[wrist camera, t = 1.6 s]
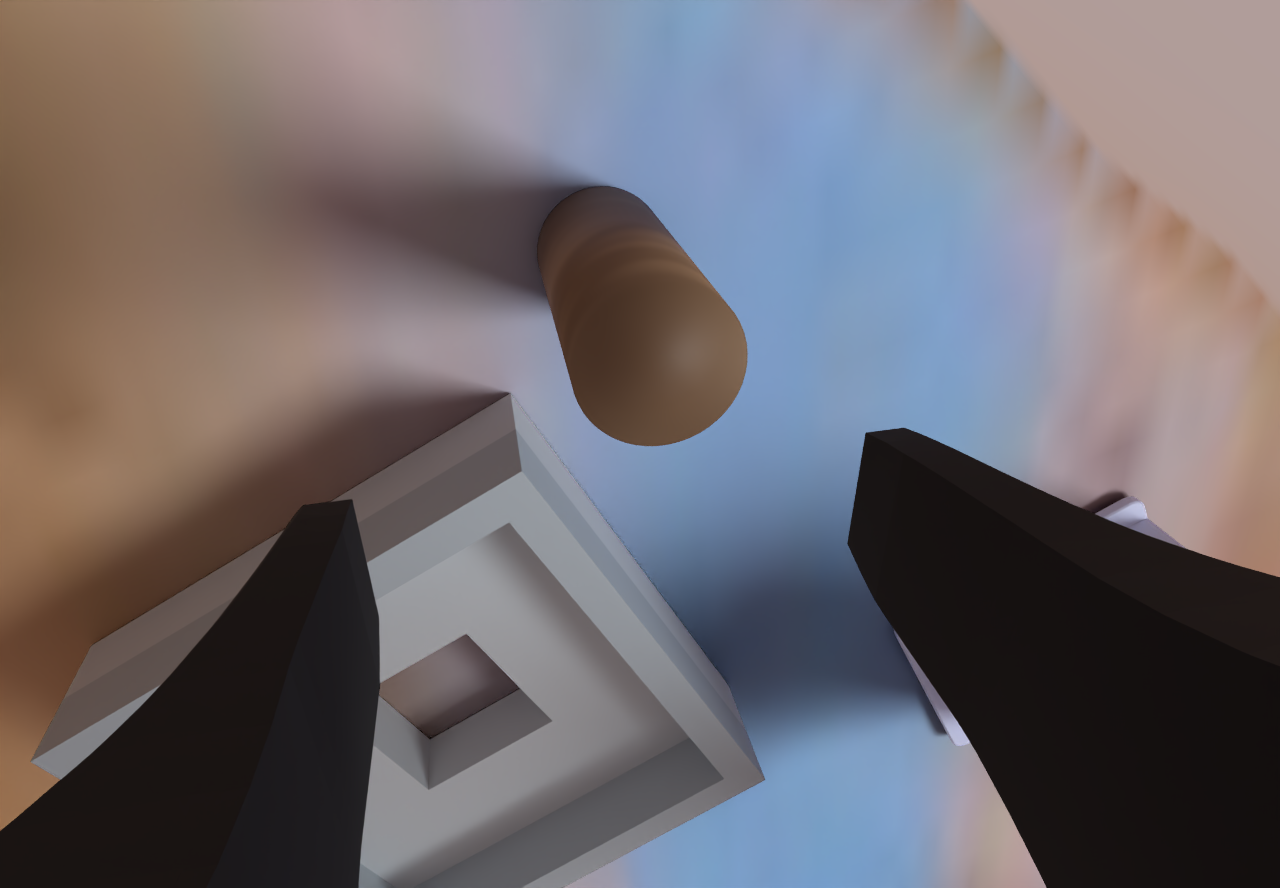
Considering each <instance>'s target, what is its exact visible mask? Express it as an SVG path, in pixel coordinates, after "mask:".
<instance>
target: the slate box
mask: <svg viewBox="0 0 1280 888" xmlns="http://www.w3.org/2000/svg"><path fill="white" fill-rule="evenodd" d="M348 499H352V500H353V505H354V509H355V513H356V518H357V522H358V527H359V531H360V535H361V540H362V544H363V548H364V553H365V557H366V562H367V566H368V570H369V575H370V579H371V583H372V588H373V592H374V597H375V601H376V605H377V610H378V614H379V638H380V683H381V682H383V681H385V680H387V679H388V678H390V677H392V676H394V675H395V674H397V673H399V672H400V671H402V670H404V669H406V668H407V667H409V666H411V665H413V664H414V663H416V662H418V661H420V660H421V659H423V658H425V657H427V656H428V655H430V654H432V653H434V652H435V651H437V650H439V649H441V648H442V647H444V646H446V645H448V644H449V643H451V642H453V641H454V640H456V639H458V638H460V637H461V636H463V635H465V634H467V635H468V636H469V637H470V638H471V639H472V640H473V641H474V642H475V643H476V644H477V645H478V646H479V647H480V648H481V649H482V650H483V651H484V652H485V653H486V654H487V655H488V656H489V657H490V658H491V659H492V660H493V661H494V662H495V663H496V664H497V665H498V666H499V667H500V668H501V669H502V670H503V671H504V672H505V673H506V674H507V675H508V676H509V677H510V678H511V679H512V680H513V681H514V682H515V683H516V684H517V686H518V687H519V688H520V689H519V690H517V691H515V692H513V693H512V694H510V695H508V696H506V697H504V698H503V699H501V700H499V701H497V702H496V703H494V704H492V705H490V706H489V707H487V708H485V709H483V710H481V711H480V712H478V713H476V714H474V715H473V716H471V717H469V718H467V719H465V720H464V721H462V722H460V723H458V724H457V725H455V726H453V727H451V728H449V729H448V730H446V731H444V732H442V733H441V734H439V735H437V736H435V737H433V738H432V739H429V738H428V737H426V736H425V735H424V734H423V733H422V732H421V731H419V730H418V729H417V728H416V727H415V726H414V725H412V724H411V723H410V722H409V721H408V720H407V719H406V718H404V717H403V716H402V715H401V714H400V713H399V712H397V711H396V710H395V709H394V708H393V707H392V706H390V705H389V704H388V703H387V702H386V701H385V700H384V699H382V698H381V697H380V696H379V699H378V708H377V717H376V726H375V734H374V743H373V752H372V760H371V769H370V777H369V786H368V794H367V803H366V811H365V820H364V828H363V837H362V845H361V859H360V872H359V888H563V887H565V886H567V885H569V884H571V883H573V882H575V881H577V880H578V879H580V878H582V877H584V876H586V875H588V874H590V873H592V872H593V871H595V870H597V869H599V868H601V867H603V866H605V865H607V864H608V863H610V862H612V861H614V860H616V859H618V858H620V857H622V856H623V855H625V854H627V853H629V852H631V851H633V850H635V849H637V848H638V847H640V846H642V845H644V844H646V843H648V842H650V841H651V840H653V839H655V838H657V837H659V836H661V835H663V834H665V833H666V832H668V831H670V830H672V829H674V828H676V827H678V826H680V825H681V824H683V823H685V822H687V821H689V820H691V819H693V818H695V817H696V816H698V815H700V814H702V813H704V812H706V811H708V810H710V809H711V808H713V807H715V806H717V805H719V804H721V803H723V802H725V801H726V800H728V799H730V798H732V797H734V796H736V795H738V794H740V793H741V792H743V791H745V790H747V789H749V788H751V787H753V786H755V785H756V784H758V783H760V782H762V781H764V780H765V778H764V775H763V773H762V770H761V768H760V765H759V762H758V760H757V757H756V755H755V752H754V750H753V747H752V745H751V742H750V739H749V737H748V734H747V732H746V729H745V727H744V724H743V722H742V719H741V716H740V714H739V711H738V709H737V706H736V704H735V701H734V699H733V696H732V693H731V691H730V688H729V686H728V684H727V683H726V682H725V680H724V679H723V678H722V676H721V675H720V674H719V672H718V671H717V670H716V668H715V667H714V666H713V664H712V663H711V661H710V660H709V659H708V657H707V656H706V655H705V653H704V652H703V651H702V649H701V648H700V647H699V645H698V644H697V643H696V641H695V640H694V639H693V637H692V636H691V635H690V633H689V632H688V631H687V629H686V628H685V627H684V625H683V624H682V623H681V621H680V620H679V619H678V617H677V616H676V615H675V613H674V612H673V611H672V609H671V608H670V606H669V605H668V604H667V602H666V601H665V600H664V598H663V597H662V596H661V594H660V593H659V592H658V590H657V589H656V588H655V586H654V585H653V584H652V582H651V581H650V580H649V578H648V577H647V576H646V574H645V573H644V572H643V570H642V569H641V568H640V566H639V565H638V564H637V562H636V561H635V560H634V558H633V557H632V556H631V554H630V553H629V552H628V550H627V549H626V547H625V546H624V545H623V543H622V542H621V541H620V539H619V538H618V537H617V535H616V534H615V533H614V531H613V530H612V529H611V527H610V526H609V525H608V523H607V522H606V521H605V519H604V518H603V517H602V515H601V514H600V513H599V511H598V510H597V509H596V507H595V506H594V505H593V503H592V502H591V501H590V499H589V498H588V497H587V495H586V494H585V492H584V491H583V490H582V488H581V487H580V486H579V484H578V483H577V482H576V480H575V479H574V478H573V476H572V475H571V474H570V472H569V471H568V470H567V468H566V467H565V466H564V464H563V463H562V462H561V460H560V459H559V458H558V456H557V455H556V454H555V452H554V451H553V450H552V448H551V447H550V446H549V444H548V443H547V442H546V440H545V439H544V438H543V436H542V435H541V433H540V432H539V431H538V429H537V428H536V427H535V425H534V424H533V423H532V421H531V420H530V419H529V417H528V416H527V415H526V413H525V412H524V411H523V409H522V408H521V407H520V405H519V404H518V403H517V401H516V400H515V399H514V397H513V396H512V395H511V393H510V394H508V395H507V396H505V397H503V398H502V399H500V400H498V401H497V402H495V403H493V404H492V405H490V406H488V407H487V408H485V409H483V410H482V411H480V412H478V413H477V414H475V415H473V416H472V417H470V418H468V419H467V420H465V421H463V422H462V423H460V424H458V425H457V426H455V427H453V428H452V429H450V430H448V431H447V432H445V433H444V434H442V435H440V436H439V437H437V438H435V439H434V440H432V441H430V442H429V443H427V444H425V445H424V446H422V447H420V448H419V449H417V450H415V451H414V452H412V453H410V454H409V455H407V456H405V457H404V458H402V459H400V460H399V461H397V462H395V463H394V464H392V465H390V466H389V467H387V468H385V469H384V470H382V471H380V472H379V473H377V474H375V475H374V476H372V477H370V478H369V479H367V480H365V481H364V482H362V483H360V484H359V485H357V486H356V487H354V488H352V489H351V490H349V491H347V492H346V493H344V494H342V495H341V496H339V497H337V498H336V499H334V500H332V501H340V500H348ZM332 501H331V502H332ZM283 531H284V530H282V531H281V532H279V533H277V534H276V535H274V536H272V537H271V538H269V539H268V540H266V541H264V542H263V543H261V544H259V545H258V546H256V547H254V548H253V549H251V550H249V551H248V552H246V553H244V554H243V555H241V556H239V557H238V558H236V559H234V560H233V561H231V562H229V563H228V564H226V565H224V566H223V567H221V568H219V569H218V570H216V571H214V572H213V573H211V574H209V575H208V576H206V577H204V578H203V579H201V580H199V581H198V582H196V583H194V584H193V585H191V586H189V587H188V588H186V589H184V590H183V591H181V592H180V593H178V594H176V595H175V596H173V597H171V598H170V599H168V600H166V601H165V602H163V603H161V604H160V605H158V606H156V607H155V608H153V609H151V610H150V611H148V612H146V613H145V614H143V615H141V616H140V617H138V618H136V619H135V620H133V621H131V622H130V623H128V624H126V625H125V626H123V627H121V628H120V629H118V630H116V631H115V632H113V633H111V634H110V635H108V636H106V637H105V638H103V639H101V640H100V641H98V642H96V643H95V644H93V645H92V646H91V647H90V649H89V651H88V653H87V655H86V657H85V659H84V660H83V662H82V664H81V666H80V668H79V670H78V672H77V674H76V676H75V678H74V680H73V681H72V683H71V685H70V687H69V689H68V691H67V693H66V695H65V697H64V699H63V701H62V702H61V704H60V706H59V708H58V710H57V712H56V714H55V716H54V718H53V720H52V721H51V723H50V725H49V727H48V729H47V731H46V733H45V735H44V737H43V739H42V741H41V742H40V744H39V746H38V748H37V750H36V752H35V754H34V756H33V758H32V760H31V762H32V763H33V764H35V765H37V766H38V767H40V768H42V769H43V770H45V771H47V772H48V773H50V774H52V775H53V776H55V777H57V778H59V779H60V780H61V779H62V778H63V777H64V776H66V775H67V774H68V773H69V772H70V771H71V770H73V769H74V768H75V767H76V766H77V765H78V764H80V763H81V762H82V761H83V760H84V759H85V758H87V757H88V756H89V755H90V754H91V753H92V752H93V751H94V750H96V749H97V748H98V747H99V746H100V745H101V744H102V743H103V742H104V741H105V740H106V739H107V738H108V737H109V736H110V735H112V734H113V733H114V732H115V731H116V730H117V729H118V728H119V727H120V726H121V725H122V724H123V723H124V722H125V721H126V720H127V719H128V718H129V717H130V716H131V715H132V714H133V713H134V712H135V711H136V710H137V709H138V708H139V707H140V706H141V705H142V704H143V703H144V702H145V701H146V700H147V699H148V698H149V697H150V696H151V695H152V694H153V693H154V692H155V691H156V689H157V688H158V687H159V686H160V685H161V684H162V683H163V682H164V681H165V680H166V679H167V678H168V677H169V675H170V674H171V673H172V672H173V671H174V670H175V669H176V667H177V666H178V665H179V664H180V663H181V662H182V660H183V659H184V658H185V657H186V656H187V655H188V654H189V652H190V651H191V650H192V649H193V648H194V647H195V645H196V644H197V643H198V642H199V641H200V640H201V638H202V637H203V636H204V635H205V634H206V633H207V631H208V630H209V629H210V628H211V627H212V626H213V624H214V623H215V622H216V621H217V619H218V618H219V617H220V616H221V614H222V613H223V612H224V610H225V609H226V608H227V607H228V605H229V604H230V603H231V601H232V600H233V599H234V597H235V596H236V595H237V594H238V592H239V591H240V590H241V588H242V587H243V586H244V585H245V583H246V582H247V581H248V579H249V578H250V577H251V575H252V574H253V573H254V571H255V570H256V569H257V567H258V566H259V564H260V563H261V562H262V560H263V559H264V558H265V556H266V555H267V553H268V552H269V551H270V549H271V548H272V546H273V545H274V543H275V542H276V541H277V539H278V538H279V536H280V535H281V534H282V532H283Z"/></svg>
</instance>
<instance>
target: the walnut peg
mask: <svg viewBox="0 0 1280 888" xmlns="http://www.w3.org/2000/svg"><path fill="white" fill-rule="evenodd" d="M537 258H538V264H539V269H540V272H541V276H542V280H543V283H544V287H545V290H546V294H547V298H548V301H549V305H550V308H551V312H552V315H553V319H554V323H555V326H556V330H557V333H558V337H559V341H560V344H561V348H562V351H563V355H564V359H565V362H566V366H567V369H568V373H569V377H570V380H571V384H572V387H573V391H574V394H575V397H576V399H577V402H578V404H579V406H580V408H581V409H582V411H583V413H584V414H585V415H586V417H587V418H588V419H589V420H590V421H591V422H592V423H593V424H594V425H595V426H596V427H597V428H598V429H600V430H601V431H602V432H604V433H605V434H607V435H609V436H611V437H613V438H615V439H617V440H620V441H622V442H625V443H629V444H634V445H641V446H660V445H668V444H672V443H676V442H680V441H683V440H685V439H688V438H690V437H692V436H694V435H696V434H698V433H700V432H702V431H703V430H705V429H706V428H708V427H709V426H711V425H712V424H713V423H714V422H715V421H717V420H718V419H719V418H720V417H721V416H722V415H723V414H724V413H725V412H726V410H727V409H728V408H729V406H730V405H731V404H732V402H733V401H734V399H735V397H736V396H737V394H738V392H739V390H740V388H741V385H742V383H743V380H744V376H745V373H746V367H747V343H746V338H745V335H744V331H743V329H742V326H741V324H740V322H739V320H738V318H737V317H736V315H735V313H734V312H733V311H732V309H731V308H730V307H729V306H728V304H727V303H726V302H725V301H724V300H723V298H722V297H721V296H720V295H719V293H718V292H717V291H716V290H715V288H714V287H713V286H712V285H711V283H710V282H709V281H708V280H707V278H706V277H705V276H704V275H703V273H702V272H701V271H700V270H699V269H698V267H697V266H696V265H695V264H694V262H693V261H692V260H691V259H690V257H689V256H688V255H687V254H686V252H685V251H684V250H683V249H682V247H681V246H680V245H679V244H678V243H677V241H676V240H675V239H674V238H673V236H672V235H671V234H670V233H669V231H668V230H667V229H666V228H665V226H664V225H663V224H662V223H661V221H660V220H659V219H658V218H657V217H656V215H655V214H654V213H653V212H652V210H651V209H650V208H649V207H648V206H647V205H646V204H645V203H644V202H643V201H642V200H641V199H639V198H638V197H637V196H635V195H633V194H631V193H629V192H627V191H625V190H622V189H619V188H614V187H603V186H600V187H591V188H587V189H583V190H580V191H578V192H575V193H574V194H572V195H570V196H568V197H567V198H565V199H564V200H562V201H561V202H560V203H559V204H558V205H557V206H556V207H555V208H554V209H553V210H552V211H551V213H550V214H549V215H548V217H547V219H546V220H545V222H544V224H543V226H542V228H541V231H540V235H539V239H538V245H537Z"/></svg>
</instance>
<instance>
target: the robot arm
mask: <svg viewBox="0 0 1280 888" xmlns="http://www.w3.org/2000/svg"><path fill="white" fill-rule="evenodd" d="M847 544H848V546H849V548H850V550H851V553H852V555H853V557H854V559H855V561H856V563H857V565H858V568H859V570H860V572H861V574H862V576H863V578H864V580H865V582H866V584H867V586H868V588H869V590H870V592H871V594H872V596H873V598H874V600H875V601H876V603H877V604H878V606H879V607H880V609H881V610H882V612H883V614H884V615H885V617H886V618H887V620H888V621H889V623H890V624H891V625H892V627H893V628H894V634H895V636H896V638H897V640H898V642H899V643H900V645H901V647H902V649H903V651H904V653H905V655H906V657H907V659H908V661H909V663H910V664H911V666H912V668H913V670H914V672H915V674H916V676H917V678H918V680H919V682H920V683H921V685H922V687H923V689H924V691H925V693H926V695H927V697H928V699H929V701H930V702H931V704H932V706H933V708H934V710H935V712H936V714H937V716H938V718H939V720H940V722H941V723H942V725H943V727H944V729H945V731H946V733H947V735H948V737H949V738H950V740H951V741H952V743H953V744H954V745H957V746H963V745H966V744H968V743H971V744H972V746H973V748H974V749H975V751H976V753H977V754H978V756H979V758H980V760H981V762H982V764H983V765H984V767H985V769H986V771H987V773H988V775H989V776H990V778H991V780H992V782H993V784H994V786H995V788H996V789H997V791H998V793H999V795H1000V797H1001V799H1002V800H1003V802H1004V804H1005V806H1006V808H1007V810H1008V812H1009V813H1010V815H1011V817H1012V819H1013V821H1014V823H1015V825H1016V827H1017V829H1018V831H1019V833H1020V835H1021V837H1022V839H1023V841H1024V843H1025V845H1026V847H1027V849H1028V851H1029V853H1030V855H1031V857H1032V859H1033V861H1034V863H1035V865H1036V867H1037V869H1038V871H1039V873H1040V875H1041V877H1042V879H1043V881H1044V883H1045V885H1046V887H1047V888H1280V577H1276V576H1273V575H1269V574H1266V573H1262V572H1259V571H1255V570H1252V569H1248V568H1244V567H1241V566H1238V565H1234V564H1231V563H1228V562H1225V561H1221V560H1218V559H1215V558H1212V557H1209V556H1206V555H1203V554H1200V553H1197V552H1194V551H1191V550H1188V549H1186V548H1185V547H1183V546H1182V545H1181V544H1180V543H1178V542H1177V541H1176V540H1175V539H1173V538H1172V537H1171V536H1169V535H1168V534H1167V533H1166V532H1164V531H1163V530H1162V529H1161V528H1159V527H1158V526H1157V525H1155V524H1154V523H1153V522H1152V521H1150V520H1149V519H1148V518H1147V514H1146V509H1145V506H1144V504H1143V503H1142V502H1141V501H1140V500H1139V499H1137V498H1135V497H1133V496H1131V497H1126V498H1123V499H1121V500H1119V501H1117V502H1115V503H1114V504H1112V505H1110V506H1108V507H1106V508H1104V509H1103V510H1101V511H1099V512H1097V513H1095V514H1094V513H1091V512H1089V511H1086V510H1084V509H1082V508H1079V507H1077V506H1075V505H1072V504H1070V503H1068V502H1066V501H1063V500H1061V499H1059V498H1057V497H1054V496H1052V495H1050V494H1048V493H1046V492H1043V491H1041V490H1039V489H1037V488H1035V487H1033V486H1031V485H1028V484H1026V483H1024V482H1022V481H1020V480H1018V479H1016V478H1014V477H1011V476H1009V475H1007V474H1005V473H1003V472H1001V471H999V470H997V469H995V468H993V467H991V466H989V465H987V464H984V463H982V462H980V461H978V460H976V459H974V458H972V457H970V456H968V455H966V454H964V453H962V452H959V451H957V450H955V449H953V448H951V447H949V446H947V445H944V444H942V443H940V442H938V441H936V440H933V439H931V438H929V437H927V436H924V435H922V434H919V433H917V432H914V431H911V430H909V429H906V428H899V429H891V430H883V431H875V432H868V433H866V434H865V440H864V446H863V452H862V458H861V464H860V470H859V476H858V482H857V489H856V495H855V501H854V507H853V513H852V519H851V525H850V531H849V537H848V543H847ZM379 689H380V638H379V614H378V610H377V605H376V601H375V597H374V592H373V588H372V583H371V579H370V575H369V570H368V566H367V562H366V557H365V553H364V548H363V544H362V540H361V535H360V531H359V527H358V522H357V518H356V513H355V509H354V505H353V500H352V499H348V500H340V501H332V502H325V503H317V504H309V505H303V506H302V507H301V508H300V509H299V510H298V511H297V513H296V514H295V515H294V517H293V518H292V519H291V521H290V522H289V524H288V525H287V526H286V528H285V529H284V531H283V532H282V534H281V535H280V536H279V538H278V539H277V541H276V542H275V543H274V545H273V546H272V548H271V549H270V551H269V552H268V553H267V555H266V556H265V558H264V559H263V560H262V562H261V563H260V564H259V566H258V567H257V569H256V570H255V571H254V573H253V574H252V575H251V577H250V578H249V579H248V581H247V582H246V583H245V585H244V586H243V587H242V588H241V590H240V591H239V592H238V594H237V595H236V596H235V597H234V599H233V600H232V601H231V603H230V604H229V605H228V607H227V608H226V609H225V610H224V612H223V613H222V614H221V616H220V617H219V618H218V619H217V621H216V622H215V623H214V624H213V626H212V627H211V628H210V629H209V630H208V631H207V633H206V634H205V635H204V636H203V637H202V638H201V640H200V641H199V642H198V643H197V644H196V645H195V647H194V648H193V649H192V650H191V651H190V652H189V654H188V655H187V656H186V657H185V658H184V659H183V660H182V662H181V663H180V664H179V665H178V666H177V667H176V669H175V670H174V671H173V672H172V673H171V674H170V675H169V677H168V678H167V679H166V680H165V681H164V682H163V683H162V684H161V685H160V686H159V687H158V688H157V689H156V691H155V692H154V693H153V694H152V695H151V696H150V697H149V698H148V699H147V700H146V701H145V702H144V703H143V704H142V705H141V706H140V707H139V708H138V709H137V710H136V711H135V712H134V713H133V714H132V715H131V716H130V717H129V718H128V719H127V720H126V721H125V722H124V723H123V724H122V725H121V726H120V727H119V728H118V729H117V730H116V731H115V732H114V733H113V734H112V735H110V736H109V737H108V738H107V739H106V740H105V741H104V742H103V743H102V744H101V745H100V746H99V747H98V748H97V749H96V750H94V751H93V752H92V753H91V754H90V755H89V756H88V757H87V758H85V759H84V760H83V761H82V762H81V763H80V764H78V765H77V766H76V767H75V768H74V769H73V770H71V771H70V772H69V773H68V774H67V775H66V776H64V777H63V778H62V779H61V780H60V781H59V782H57V783H56V784H55V785H54V786H53V787H52V788H50V789H49V790H48V791H47V792H46V793H45V794H43V795H42V796H41V797H40V798H39V799H38V800H37V801H35V802H34V803H33V804H32V805H31V806H30V807H28V808H27V809H26V810H25V811H24V812H23V813H21V814H20V815H19V816H18V817H17V818H16V819H14V820H13V821H12V822H11V823H9V824H8V825H7V826H6V827H5V828H3V829H2V830H1V831H0V888H359V872H360V859H361V845H362V837H363V828H364V820H365V811H366V803H367V794H368V786H369V777H370V769H371V760H372V752H373V743H374V734H375V726H376V717H377V708H378V699H379Z"/></svg>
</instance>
